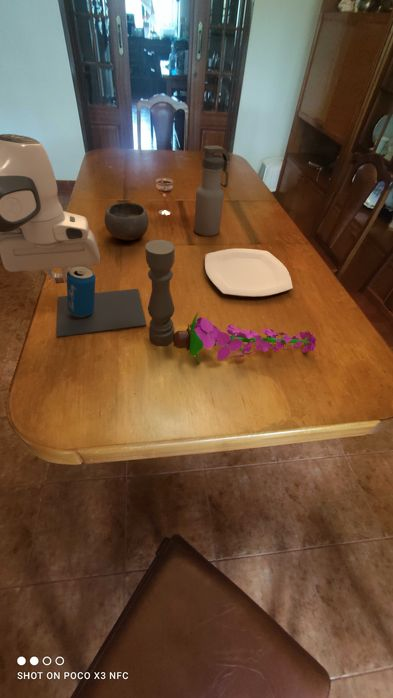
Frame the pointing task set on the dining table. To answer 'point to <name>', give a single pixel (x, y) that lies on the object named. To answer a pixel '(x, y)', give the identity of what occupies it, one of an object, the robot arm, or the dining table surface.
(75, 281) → the beverage can
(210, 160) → the water bottle
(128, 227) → the bowl
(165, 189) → the wineglass
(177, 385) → the dining table surface
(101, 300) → the mat
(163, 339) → the candle holder
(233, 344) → the potted plant
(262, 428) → the dining table surface
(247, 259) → the plate
